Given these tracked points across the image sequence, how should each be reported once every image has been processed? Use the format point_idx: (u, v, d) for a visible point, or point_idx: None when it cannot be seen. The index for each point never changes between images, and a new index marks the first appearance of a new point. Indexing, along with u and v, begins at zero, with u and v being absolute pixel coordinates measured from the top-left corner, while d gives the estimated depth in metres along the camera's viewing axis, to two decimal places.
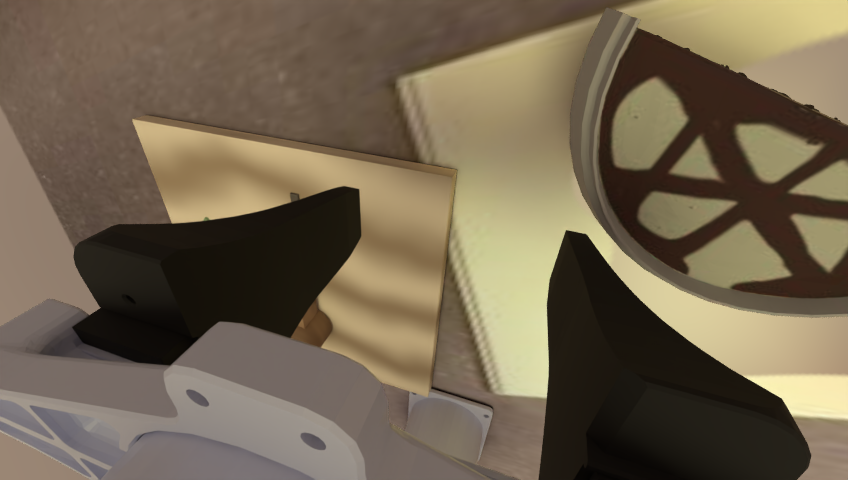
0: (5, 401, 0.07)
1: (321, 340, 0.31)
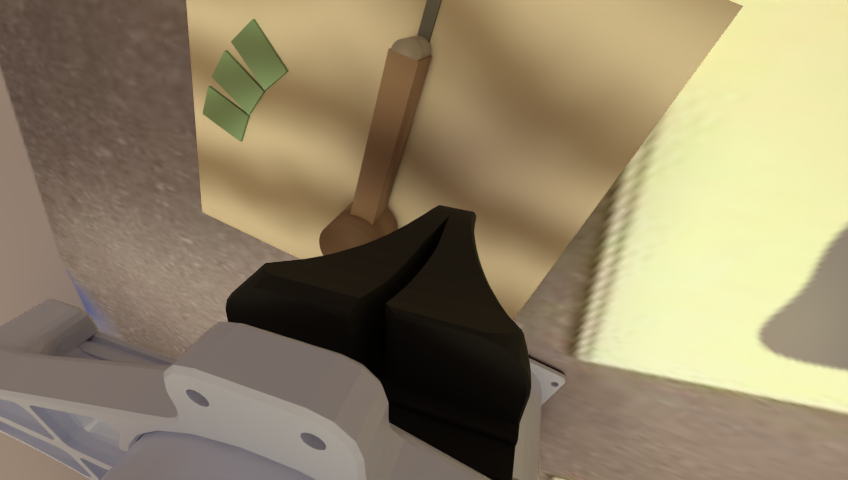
0: (5, 401, 0.07)
1: None
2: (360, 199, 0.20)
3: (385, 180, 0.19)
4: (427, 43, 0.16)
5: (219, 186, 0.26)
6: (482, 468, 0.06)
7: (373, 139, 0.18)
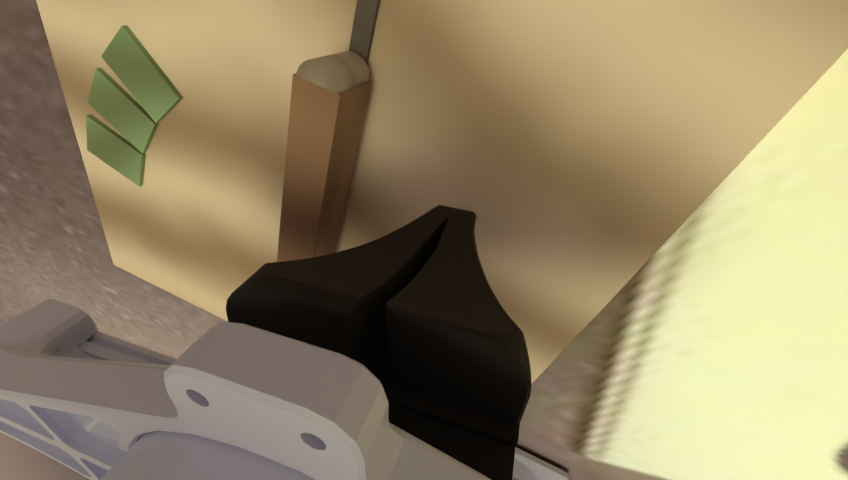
0: (5, 401, 0.07)
1: None
2: None
3: (314, 255, 0.13)
4: (362, 63, 0.11)
5: (127, 237, 0.20)
6: (482, 468, 0.06)
7: (289, 202, 0.12)
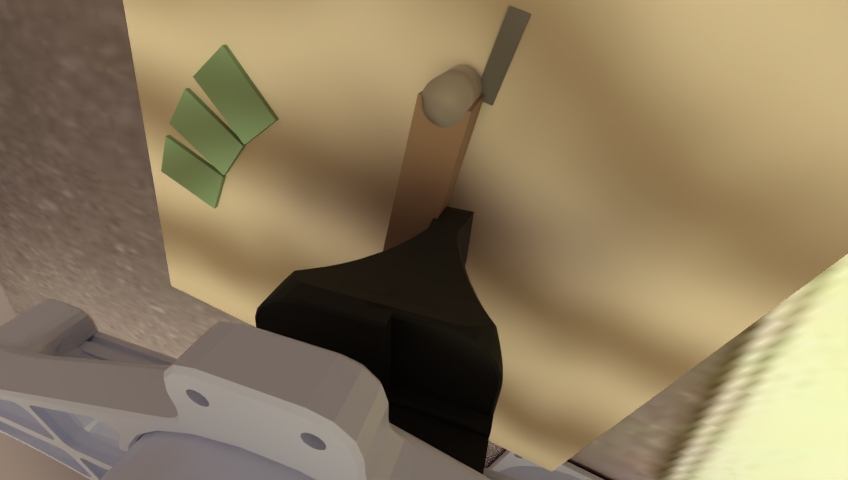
0: (5, 401, 0.07)
1: None
2: None
3: None
4: (477, 76, 0.10)
5: (190, 258, 0.19)
6: (455, 458, 0.06)
7: (397, 228, 0.11)
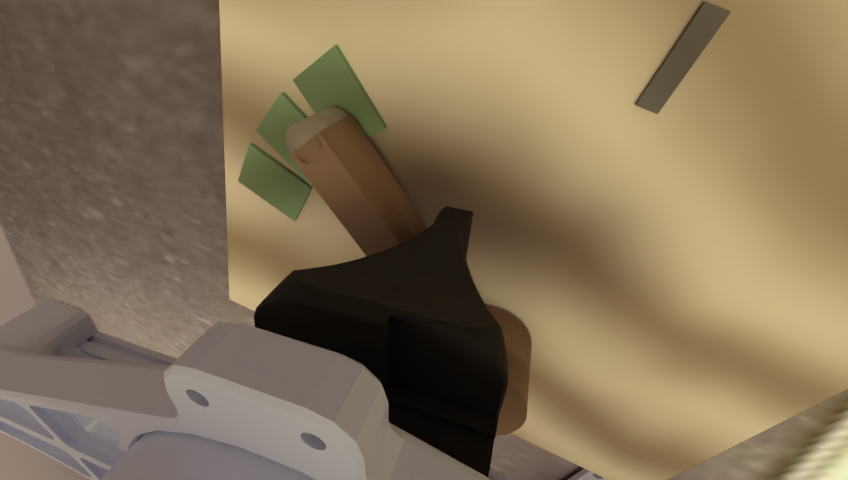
0: (5, 401, 0.07)
1: (522, 361, 0.13)
2: None
3: None
4: (332, 108, 0.12)
5: (256, 272, 0.18)
6: (460, 460, 0.06)
7: None
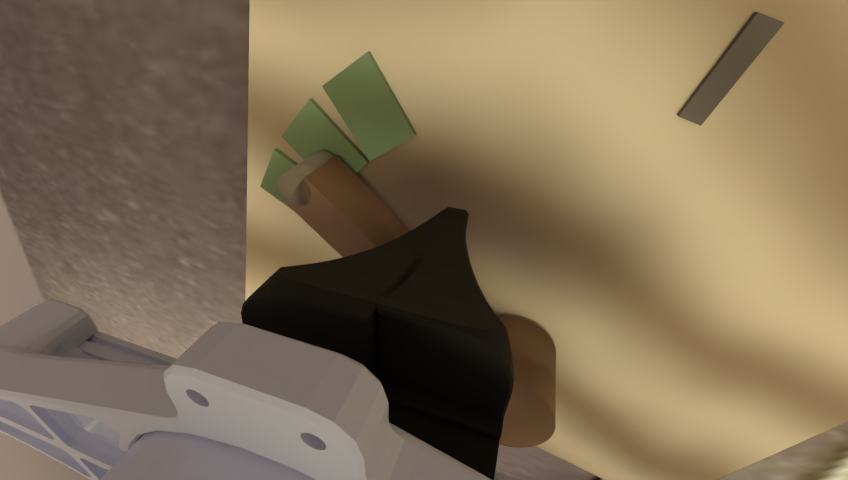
0: (5, 401, 0.07)
1: (543, 365, 0.13)
2: None
3: None
4: (318, 153, 0.13)
5: None
6: (465, 462, 0.06)
7: None
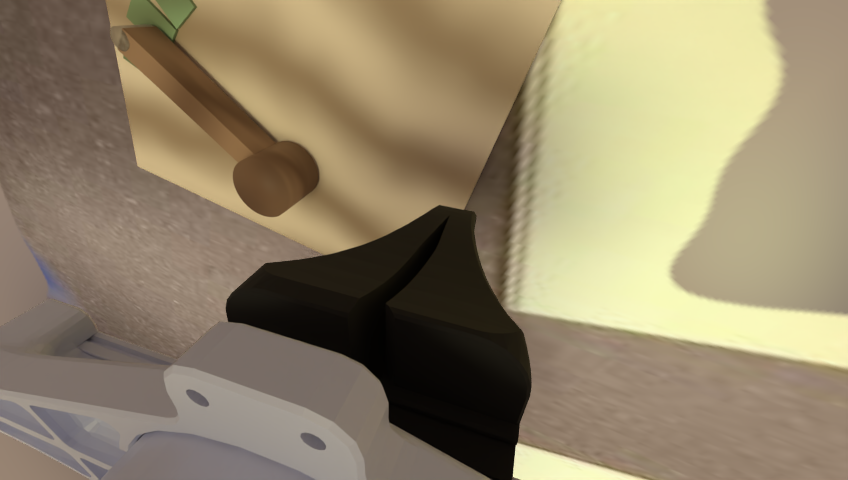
0: (5, 401, 0.07)
1: (288, 159, 0.21)
2: (230, 149, 0.21)
3: (214, 114, 0.20)
4: (144, 24, 0.21)
5: (149, 137, 0.26)
6: (482, 468, 0.06)
7: (179, 102, 0.20)
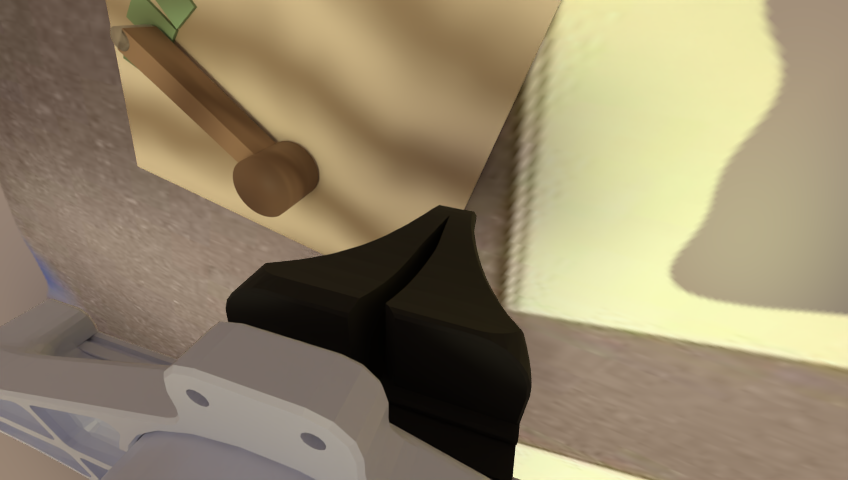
0: (5, 401, 0.07)
1: (288, 159, 0.21)
2: (230, 149, 0.21)
3: (214, 114, 0.20)
4: (144, 24, 0.21)
5: (149, 137, 0.26)
6: (482, 468, 0.06)
7: (179, 102, 0.20)
